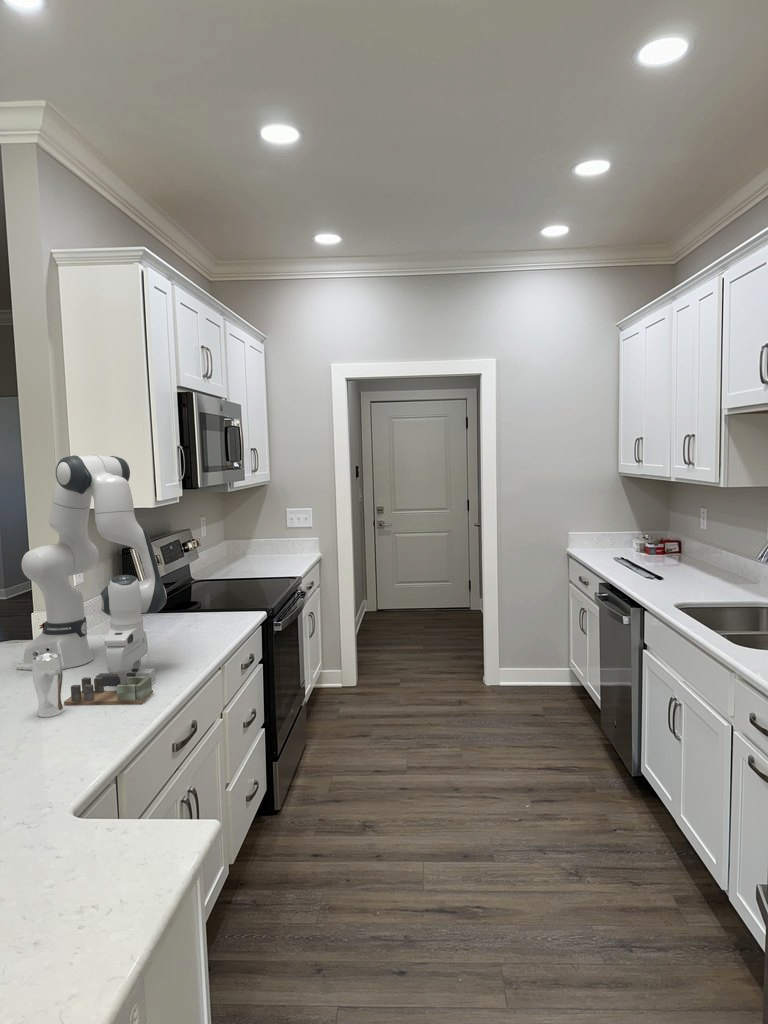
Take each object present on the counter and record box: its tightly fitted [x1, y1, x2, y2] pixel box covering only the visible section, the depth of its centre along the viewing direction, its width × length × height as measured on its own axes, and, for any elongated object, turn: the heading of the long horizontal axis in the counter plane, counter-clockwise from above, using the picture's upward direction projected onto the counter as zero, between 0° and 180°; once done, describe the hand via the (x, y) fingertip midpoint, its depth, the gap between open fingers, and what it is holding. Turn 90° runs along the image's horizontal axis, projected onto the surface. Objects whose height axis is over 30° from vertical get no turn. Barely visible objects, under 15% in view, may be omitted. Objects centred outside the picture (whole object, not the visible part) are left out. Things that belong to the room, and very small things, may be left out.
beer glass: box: [31, 653, 64, 718], centre depth 176 cm, size 7×7×15 cm
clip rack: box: [63, 676, 154, 706], centre depth 185 cm, size 21×8×5 cm, turn 88°
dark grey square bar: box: [95, 668, 156, 688], centre depth 197 cm, size 16×4×4 cm, turn 88°
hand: (130, 678), depth 197 cm, fingers open, 7 cm apart
